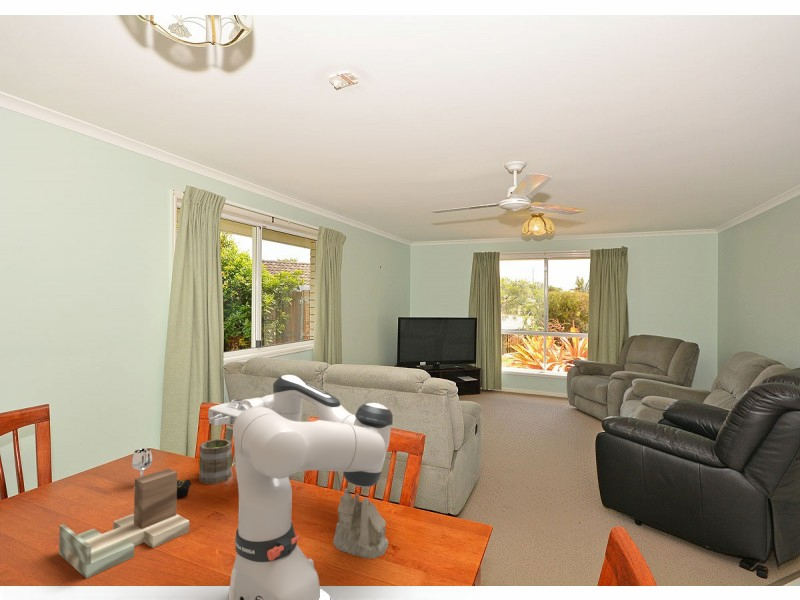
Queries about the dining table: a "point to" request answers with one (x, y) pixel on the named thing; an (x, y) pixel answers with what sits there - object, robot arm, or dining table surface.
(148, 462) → the wineglass
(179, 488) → the tape measure
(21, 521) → the dining table surface
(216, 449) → the mug
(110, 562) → the cream block stand
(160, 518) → the walnut block
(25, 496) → the dining table surface
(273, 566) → the robot arm
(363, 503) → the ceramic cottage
